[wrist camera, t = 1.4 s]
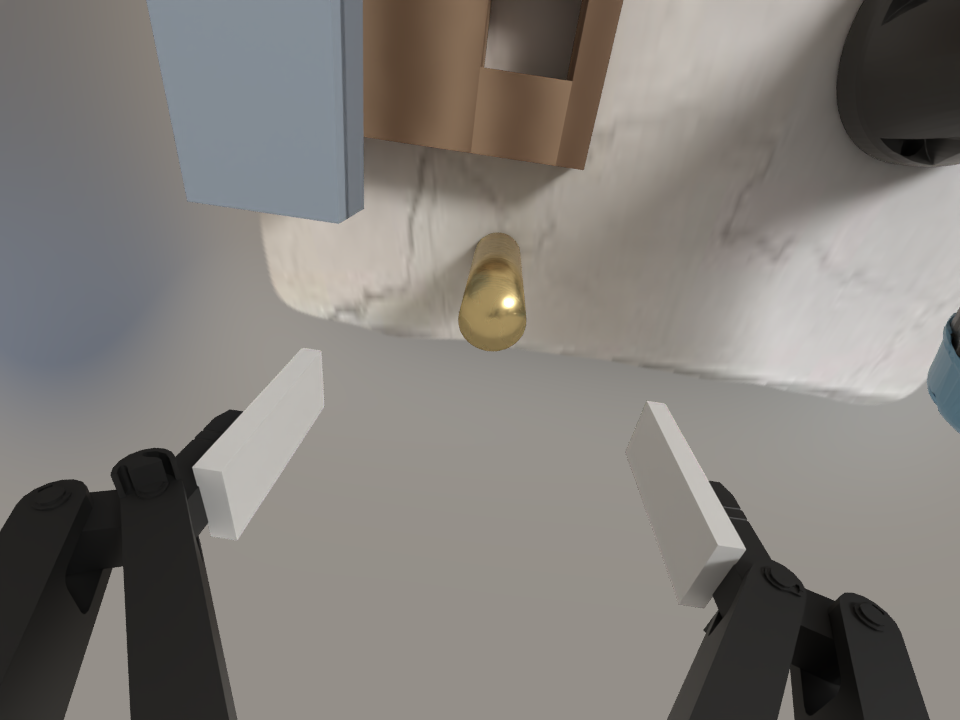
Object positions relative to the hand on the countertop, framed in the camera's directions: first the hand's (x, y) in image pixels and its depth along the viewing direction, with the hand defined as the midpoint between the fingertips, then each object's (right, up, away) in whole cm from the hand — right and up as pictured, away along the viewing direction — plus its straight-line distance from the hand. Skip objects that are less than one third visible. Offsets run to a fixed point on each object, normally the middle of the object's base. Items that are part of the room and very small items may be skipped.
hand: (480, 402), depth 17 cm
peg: (+1, +11, +20) cm, 23 cm away
